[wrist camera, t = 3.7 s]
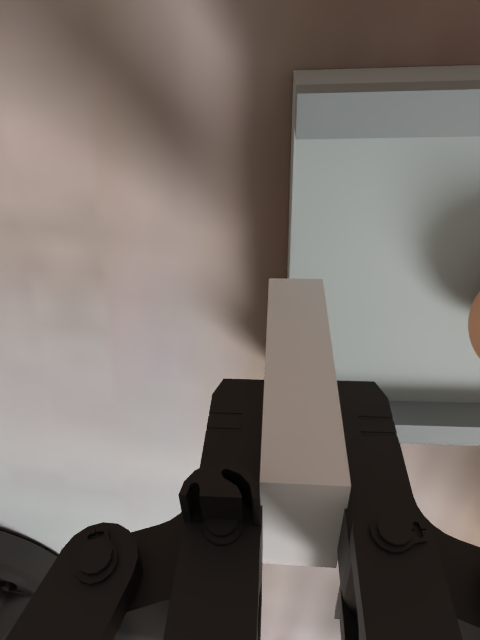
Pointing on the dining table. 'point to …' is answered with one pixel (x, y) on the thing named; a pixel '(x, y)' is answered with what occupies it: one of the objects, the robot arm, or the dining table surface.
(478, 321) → the ball
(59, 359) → the dining table surface
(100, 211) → the dining table surface
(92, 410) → the dining table surface
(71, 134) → the dining table surface
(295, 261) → the board
